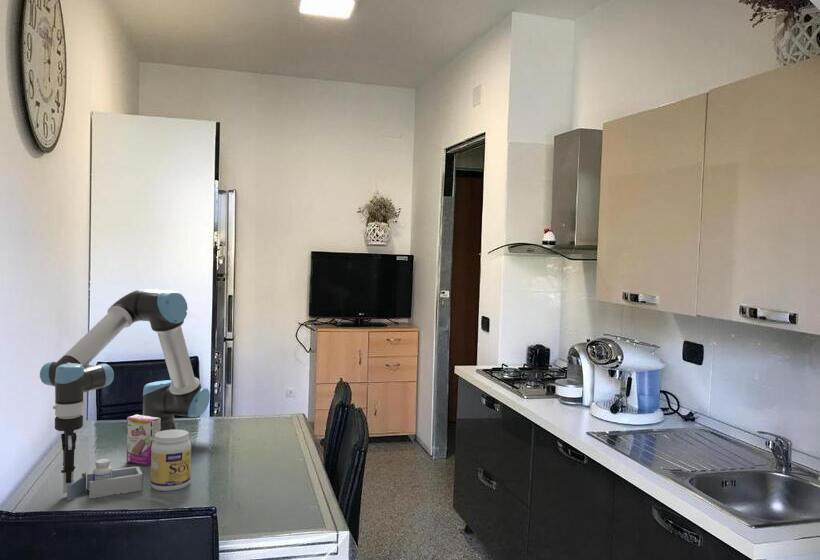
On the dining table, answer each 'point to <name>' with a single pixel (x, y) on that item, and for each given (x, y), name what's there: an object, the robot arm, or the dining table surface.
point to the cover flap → (76, 487)
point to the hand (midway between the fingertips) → (68, 491)
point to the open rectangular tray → (116, 482)
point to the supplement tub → (170, 460)
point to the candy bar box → (141, 438)
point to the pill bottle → (102, 470)
